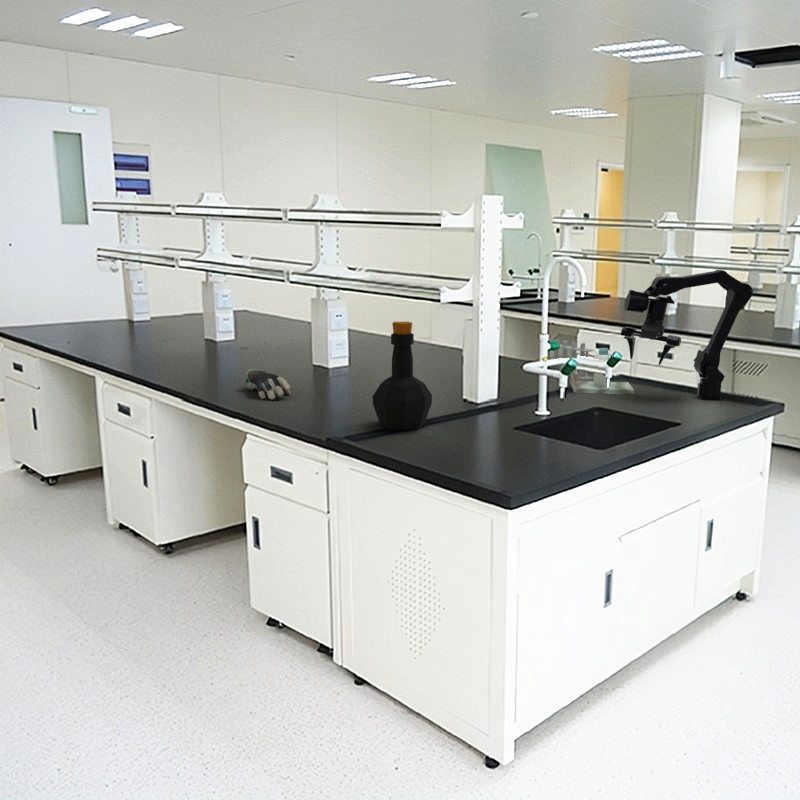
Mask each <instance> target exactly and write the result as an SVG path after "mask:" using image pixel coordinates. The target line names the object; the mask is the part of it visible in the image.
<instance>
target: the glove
mask: <svg viewBox="0 0 800 800" xmlns="http://www.w3.org/2000/svg"><path fill="white" fill-rule="evenodd" d="M245 373H246V376H245V377H246V379H245V386H246V388H247V389H248V390H250V389H257V390H256V391H257V393H258V396H259V398H260V399H261V398H266V399H267V397H268V399H269V400H270V399H271V401H272V400H273V399H274V400H275V399H276V395H277V397H283V396H284V395H286V394H288V395H290V394H291V395H292V392H291V390H292V387H291V385H290V384H289V382H288V381H287V380H286V379H285V378H283V377H282V376H279V375H277V374H275V373H271V372H270V373H269V372H266V371H264V370H260V369H253V368H251V369H248V370H247V371H246V372H245ZM266 395H267V396H266ZM288 395H287V396H288Z"/></svg>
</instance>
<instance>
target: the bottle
mask: <svg viewBox="0 0 800 800" xmlns="http://www.w3.org/2000/svg"><path fill="white" fill-rule="evenodd" d="M391 324H392V325H391V326H392V330H393V331H392V332H393V333H391V334H390V343H391V345H393V348H392V349H393V350H392V356H391V376H389V377H387V378H385V379H384V380H383V381H382V382H380V384H379V386H378V387H377V388H376V390H375V392H374V393H373V395H372V407H373V409H374V411H375V414H376V416H377V420H378V423H379V424H380V427H383V428H385V427H386V428H385V429H387V428H388V429H387V430H389V429H391V430H390V431H414V430H420V429H421V428H422V427H423V426H424V425H425V423H426V420H427V418H428V414H429V413H430V410H431V407H432V403H433V402H432V401H433V395H432V393H431V392H430V389H429V388H428V387H427V385H426V384H425V382H423V381H421V380H420V379H418V378H417V377H416V376H414V357H413V352H412V351H413V350H412V345H413V344H414V343H415V342H414V340H415V338H414V335H415V334H414V333H412V329H413V322H411V321H393V322H392V323H391Z"/></svg>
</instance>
